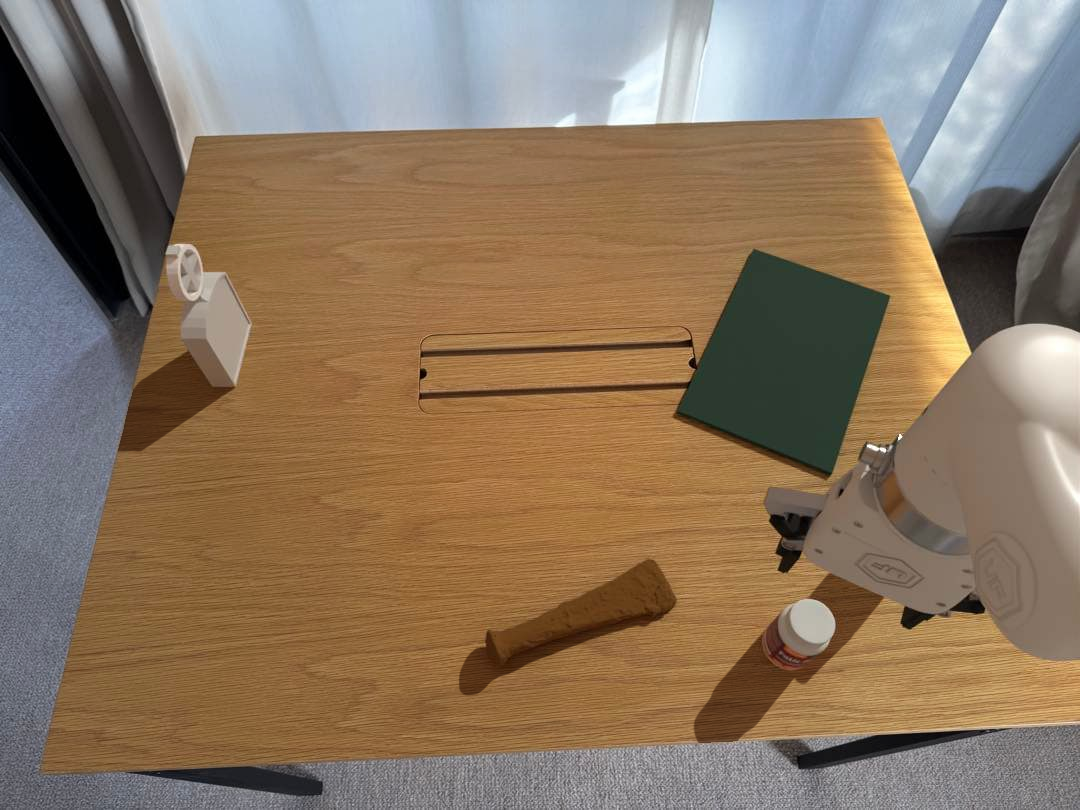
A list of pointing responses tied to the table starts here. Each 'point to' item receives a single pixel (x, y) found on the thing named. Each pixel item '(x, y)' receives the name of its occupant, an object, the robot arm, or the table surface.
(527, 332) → the table surface
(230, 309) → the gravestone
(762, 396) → the mat
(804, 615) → the pill bottle
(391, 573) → the table surface
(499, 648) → the primitive tool
